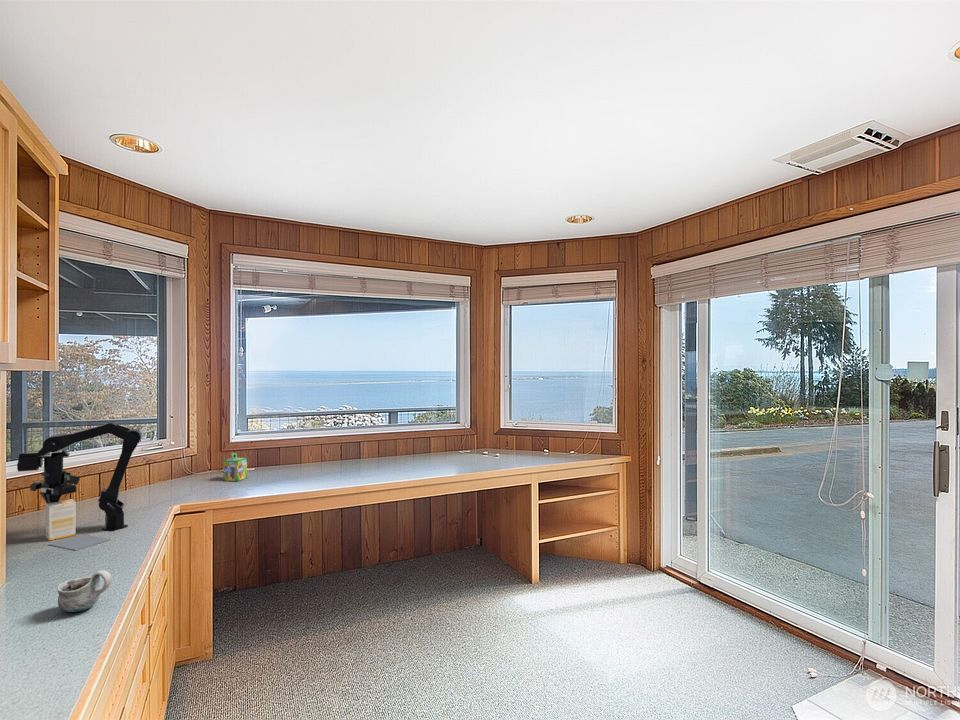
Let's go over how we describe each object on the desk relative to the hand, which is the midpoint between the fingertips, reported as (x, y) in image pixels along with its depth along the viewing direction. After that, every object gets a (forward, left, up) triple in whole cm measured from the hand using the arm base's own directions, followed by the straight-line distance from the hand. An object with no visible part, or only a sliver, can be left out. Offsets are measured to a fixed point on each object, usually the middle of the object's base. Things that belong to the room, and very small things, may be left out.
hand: (53, 510), depth 205 cm
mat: (-17, +1, -10) cm, 20 cm away
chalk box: (+12, -97, -10) cm, 98 cm away
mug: (-74, +33, -10) cm, 82 cm away
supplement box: (-4, 0, -10) cm, 11 cm away
